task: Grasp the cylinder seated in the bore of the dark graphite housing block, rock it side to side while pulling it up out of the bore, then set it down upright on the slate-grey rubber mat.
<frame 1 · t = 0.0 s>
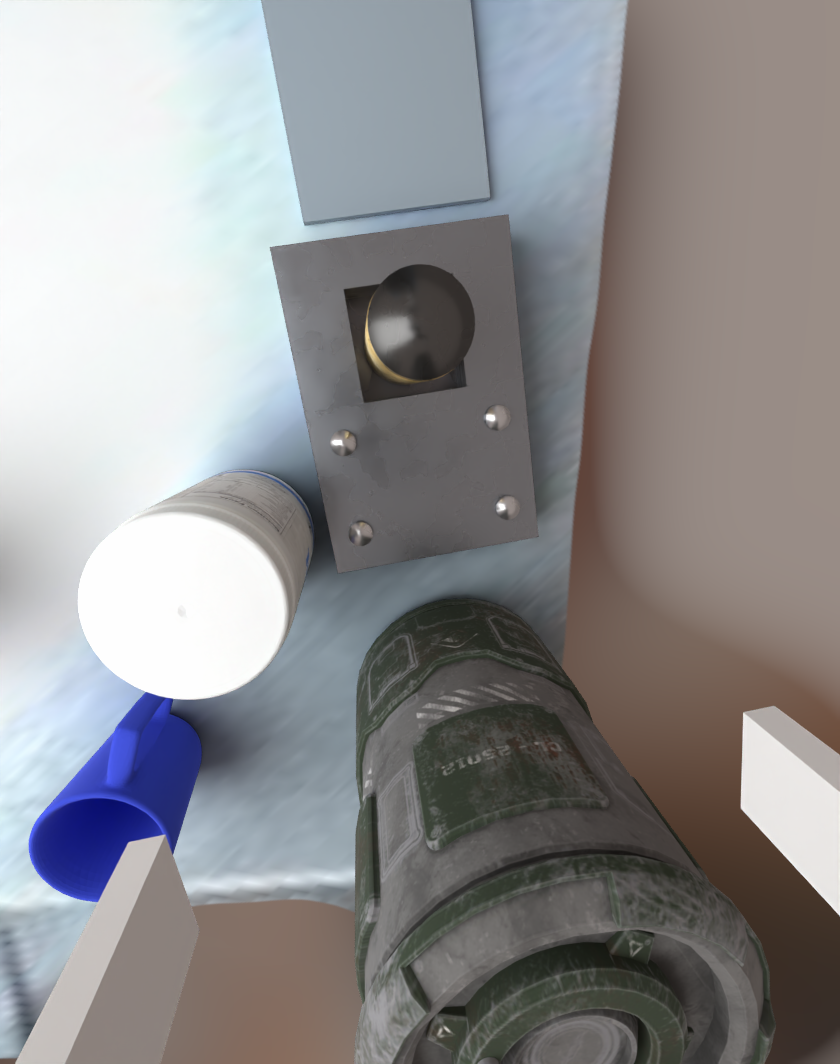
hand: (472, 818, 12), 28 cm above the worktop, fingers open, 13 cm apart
canister: (452, 680, 43), on the worktop
mug: (166, 721, 41), on the worktop
housing: (411, 404, 36), on the worktop
cylinder: (402, 344, 35), resting on housing
supplement tub: (250, 530, 38), on the worktop
mat: (381, 103, 32), on the worktop
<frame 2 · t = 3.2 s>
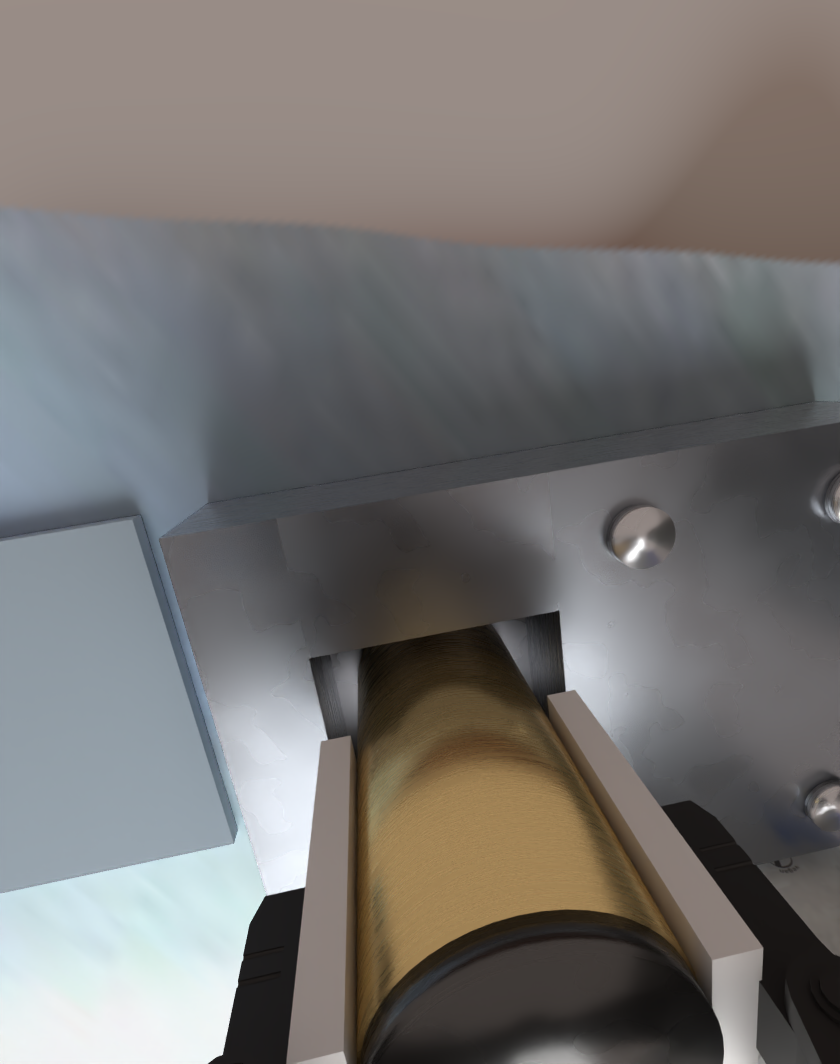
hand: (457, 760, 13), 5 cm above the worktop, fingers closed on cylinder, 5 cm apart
housing: (543, 645, 18), on the worktop
cylinder: (434, 675, 18), point 1 cm above the worktop, touching gripper, housing
supplement tub: (720, 877, 23), on the worktop
mat: (7, 722, 17), on the worktop
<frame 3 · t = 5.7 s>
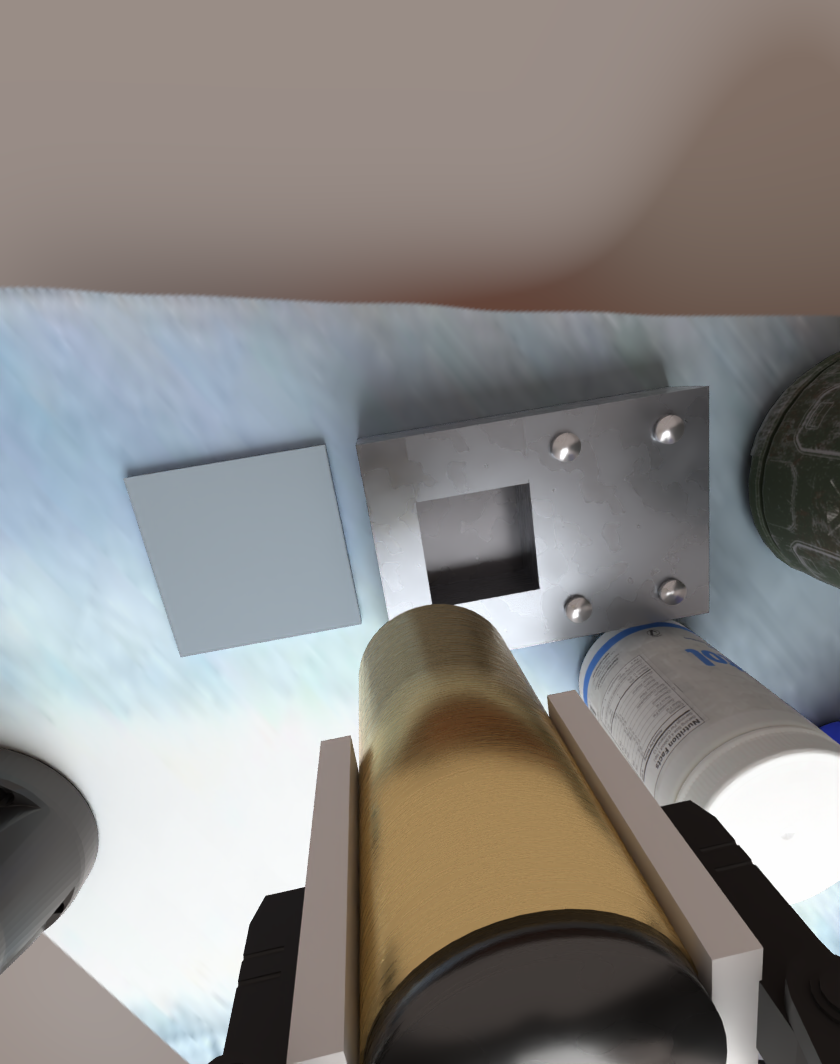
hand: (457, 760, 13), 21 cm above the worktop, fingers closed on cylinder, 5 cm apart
housing: (526, 519, 34), on the worktop
cylinder: (435, 674, 18), point 17 cm above the worktop, touching gripper
supplement tub: (634, 669, 38), on the worktop
mat: (251, 552, 33), on the worktop
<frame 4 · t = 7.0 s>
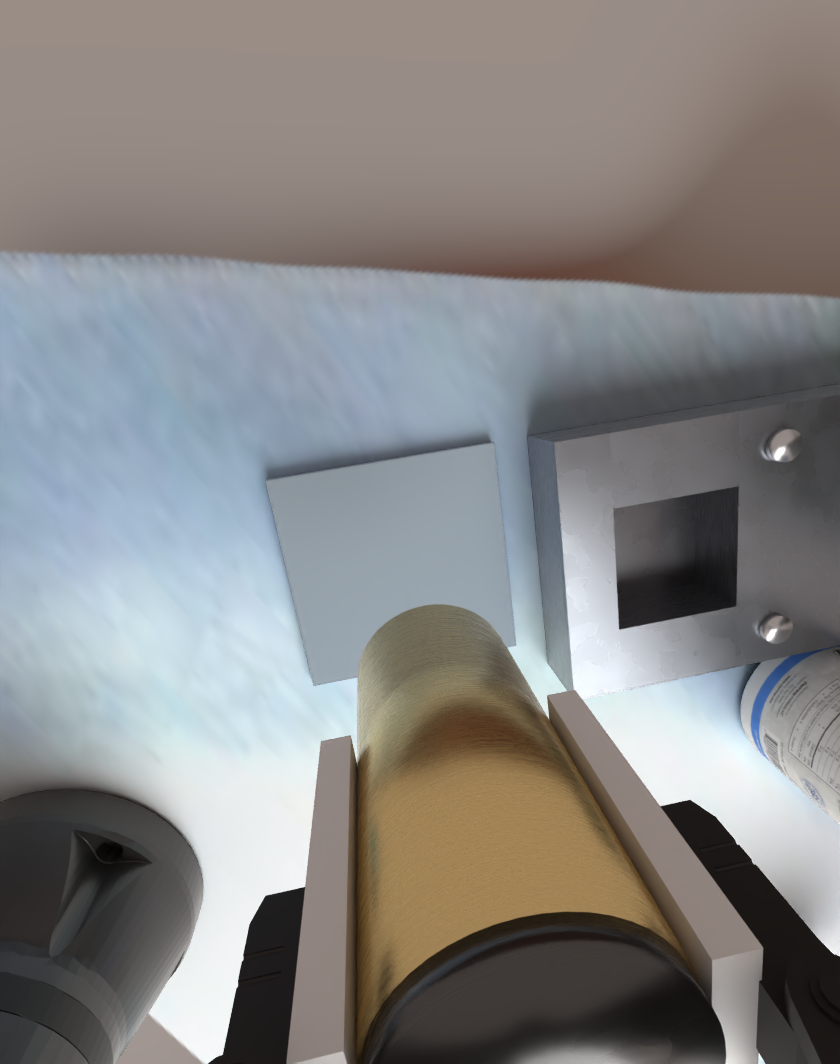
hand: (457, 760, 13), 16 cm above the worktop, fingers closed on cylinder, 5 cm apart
housing: (700, 526, 31), on the worktop
cylinder: (434, 675, 18), point 12 cm above the worktop, touching gripper
supplement tub: (795, 691, 35), on the worktop
mat: (399, 565, 29), on the worktop
when the fingers open (6 cm above the worktop, at t = 8.3 s): cylinder drops 1 cm, resting on mat.
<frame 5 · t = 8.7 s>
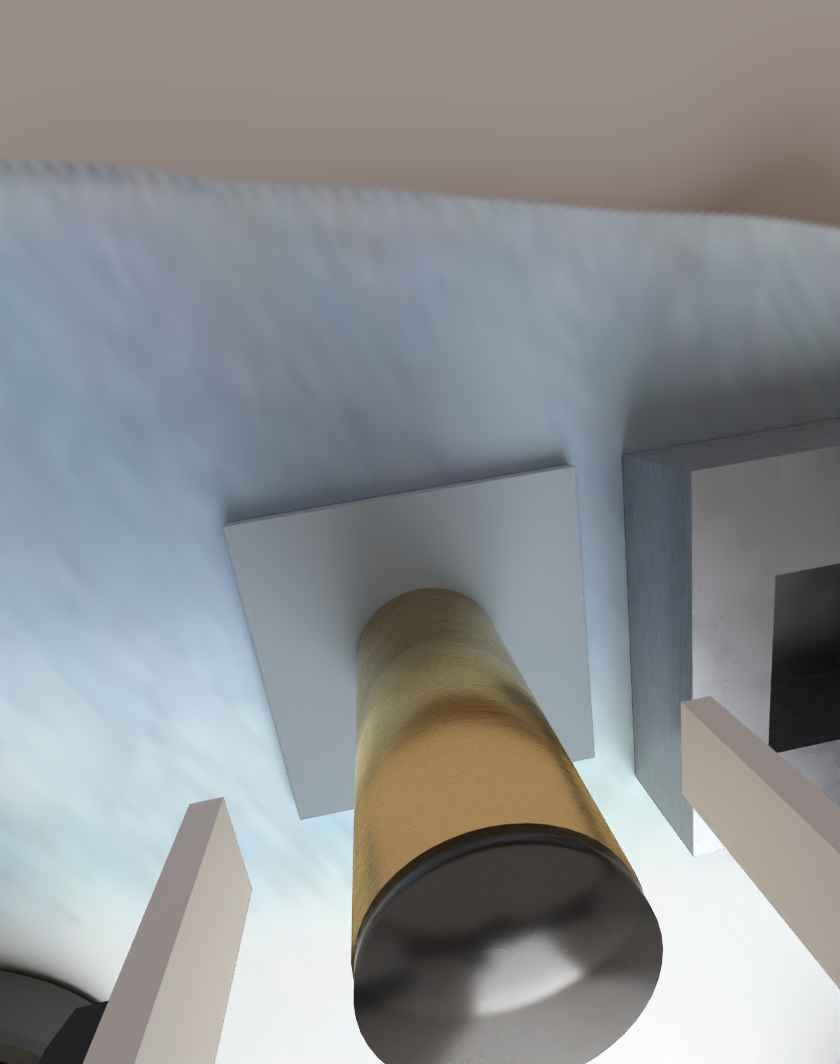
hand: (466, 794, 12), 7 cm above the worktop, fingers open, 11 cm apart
cylinder: (428, 654, 19), point 1 cm above the worktop, touching mat
mat: (426, 647, 20), on the worktop
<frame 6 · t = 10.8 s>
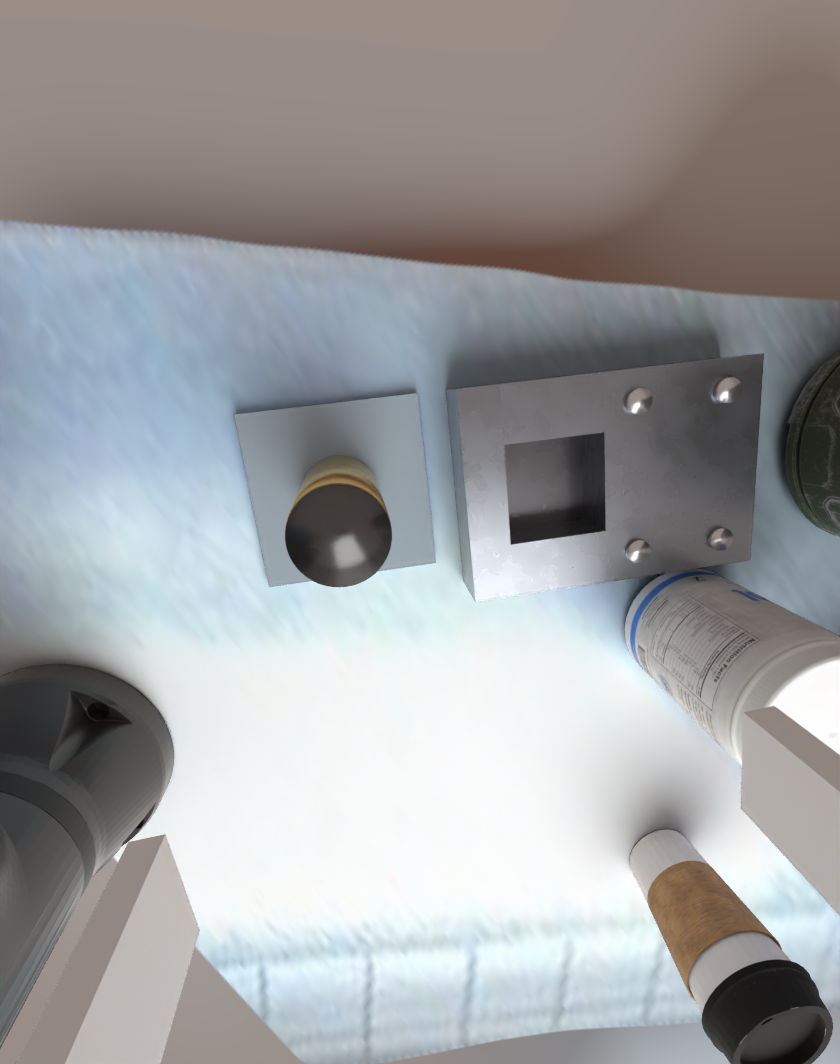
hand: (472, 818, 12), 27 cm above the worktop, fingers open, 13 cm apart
housing: (588, 472, 38), on the worktop
cylinder: (340, 493, 35), point 1 cm above the worktop, touching mat
coffee cup: (657, 852, 49), on the worktop
supplement tub: (673, 618, 42), on the worktop
mat: (341, 491, 36), on the worktop
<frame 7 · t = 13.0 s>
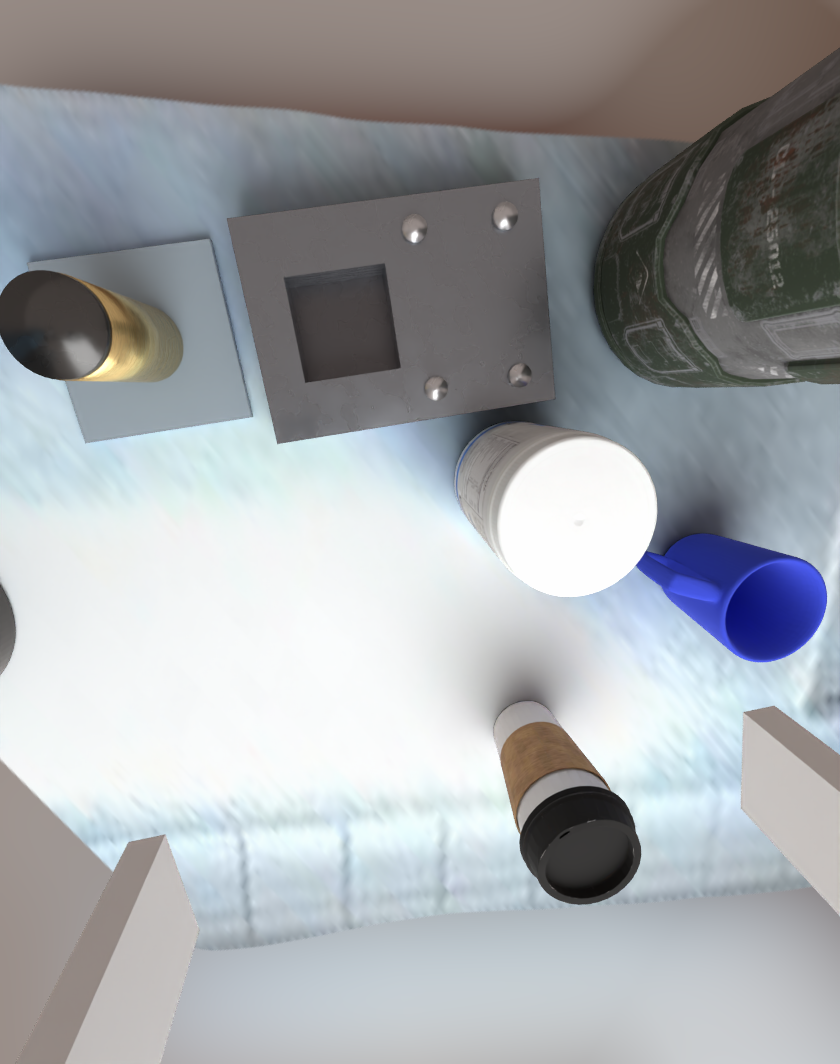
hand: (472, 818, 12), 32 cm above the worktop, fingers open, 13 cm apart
canister: (682, 282, 40), on the worktop
mug: (669, 561, 46), on the worktop
housing: (399, 323, 38), on the worktop
cylinder: (144, 343, 36), point 1 cm above the worktop, touching mat
coffee cup: (522, 726, 49), on the worktop
supplement tub: (507, 478, 43), on the worktop
mat: (148, 345, 37), on the worktop
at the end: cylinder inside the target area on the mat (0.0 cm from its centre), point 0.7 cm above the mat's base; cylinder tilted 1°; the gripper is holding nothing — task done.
